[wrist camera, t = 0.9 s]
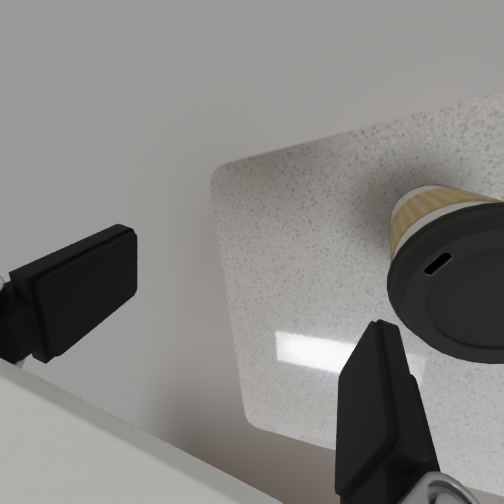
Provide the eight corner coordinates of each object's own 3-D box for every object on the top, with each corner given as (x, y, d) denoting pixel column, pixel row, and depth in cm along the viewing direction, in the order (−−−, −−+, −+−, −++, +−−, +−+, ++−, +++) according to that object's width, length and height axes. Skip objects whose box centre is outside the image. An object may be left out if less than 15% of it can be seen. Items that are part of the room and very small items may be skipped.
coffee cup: (426, 276, 29) (487, 397, 17) (351, 225, 30) (354, 306, 17) (515, 204, 24) (700, 298, 12) (424, 143, 25) (506, 169, 12)
